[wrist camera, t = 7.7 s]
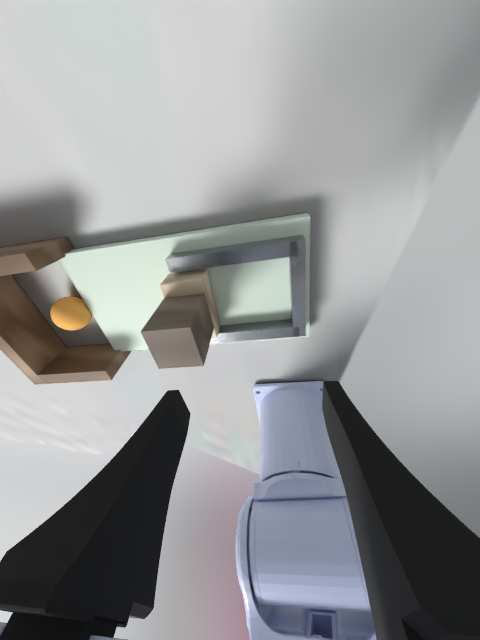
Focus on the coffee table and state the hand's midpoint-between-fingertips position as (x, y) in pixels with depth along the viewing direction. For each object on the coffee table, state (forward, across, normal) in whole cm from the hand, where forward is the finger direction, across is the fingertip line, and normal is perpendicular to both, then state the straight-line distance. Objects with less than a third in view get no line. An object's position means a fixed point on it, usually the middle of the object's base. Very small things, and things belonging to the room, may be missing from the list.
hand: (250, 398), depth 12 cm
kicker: (+9, +5, -1) cm, 10 cm away
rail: (+9, +1, -1) cm, 9 cm away
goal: (+10, +18, -2) cm, 21 cm away
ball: (+9, +16, -2) cm, 18 cm away
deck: (+10, +5, -1) cm, 11 cm away
